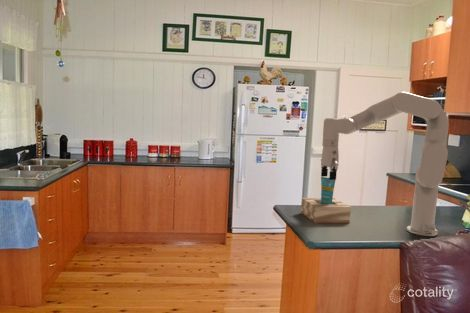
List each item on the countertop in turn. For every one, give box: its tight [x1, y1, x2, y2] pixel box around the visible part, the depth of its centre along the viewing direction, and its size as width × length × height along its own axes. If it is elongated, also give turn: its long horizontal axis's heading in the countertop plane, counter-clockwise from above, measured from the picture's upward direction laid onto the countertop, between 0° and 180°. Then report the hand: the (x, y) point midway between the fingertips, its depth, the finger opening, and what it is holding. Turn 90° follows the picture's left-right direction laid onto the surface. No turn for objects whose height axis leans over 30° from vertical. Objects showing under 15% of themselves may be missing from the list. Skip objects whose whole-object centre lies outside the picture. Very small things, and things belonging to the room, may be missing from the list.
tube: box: [320, 176, 336, 205], centre depth 189 cm, size 7×5×19 cm, turn 62°
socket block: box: [300, 197, 352, 224], centre depth 190 cm, size 18×18×8 cm
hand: (328, 177), depth 188 cm, fingers open, 9 cm apart
